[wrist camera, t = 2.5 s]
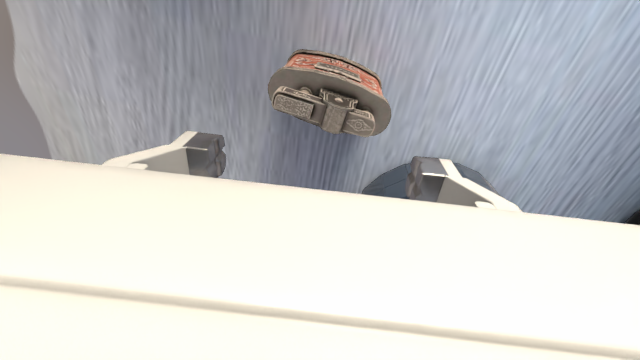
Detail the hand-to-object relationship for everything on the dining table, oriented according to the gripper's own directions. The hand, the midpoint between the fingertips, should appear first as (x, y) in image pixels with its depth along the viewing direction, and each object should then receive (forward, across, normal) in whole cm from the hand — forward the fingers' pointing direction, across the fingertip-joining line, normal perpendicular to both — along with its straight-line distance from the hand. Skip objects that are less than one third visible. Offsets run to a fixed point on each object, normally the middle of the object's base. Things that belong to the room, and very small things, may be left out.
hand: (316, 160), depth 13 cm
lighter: (+15, 0, 0) cm, 15 cm away
